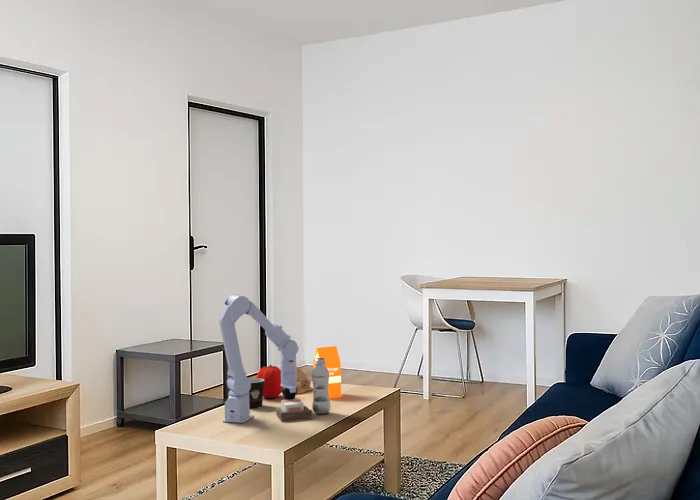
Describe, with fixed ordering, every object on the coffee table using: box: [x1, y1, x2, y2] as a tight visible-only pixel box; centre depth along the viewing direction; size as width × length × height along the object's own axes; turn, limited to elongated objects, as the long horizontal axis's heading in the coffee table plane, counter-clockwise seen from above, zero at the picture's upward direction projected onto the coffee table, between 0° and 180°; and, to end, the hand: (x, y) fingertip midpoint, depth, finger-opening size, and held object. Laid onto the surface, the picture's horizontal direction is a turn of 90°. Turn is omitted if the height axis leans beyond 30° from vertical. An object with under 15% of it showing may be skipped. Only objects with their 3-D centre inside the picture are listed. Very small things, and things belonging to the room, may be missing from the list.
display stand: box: [275, 405, 313, 422], centre depth 258 cm, size 10×11×3 cm
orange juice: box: [312, 345, 342, 399], centre depth 290 cm, size 8×9×20 cm
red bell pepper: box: [256, 364, 284, 399], centre depth 290 cm, size 12×12×13 cm
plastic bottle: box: [310, 358, 331, 415], centre depth 262 cm, size 6×7×20 cm
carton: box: [280, 398, 305, 412], centre depth 259 cm, size 8×6×5 cm
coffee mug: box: [248, 377, 264, 410], centre depth 275 cm, size 12×9×10 cm
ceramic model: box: [283, 366, 314, 395], centre depth 302 cm, size 14×11×10 cm
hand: (289, 408), depth 265 cm, fingers closed
